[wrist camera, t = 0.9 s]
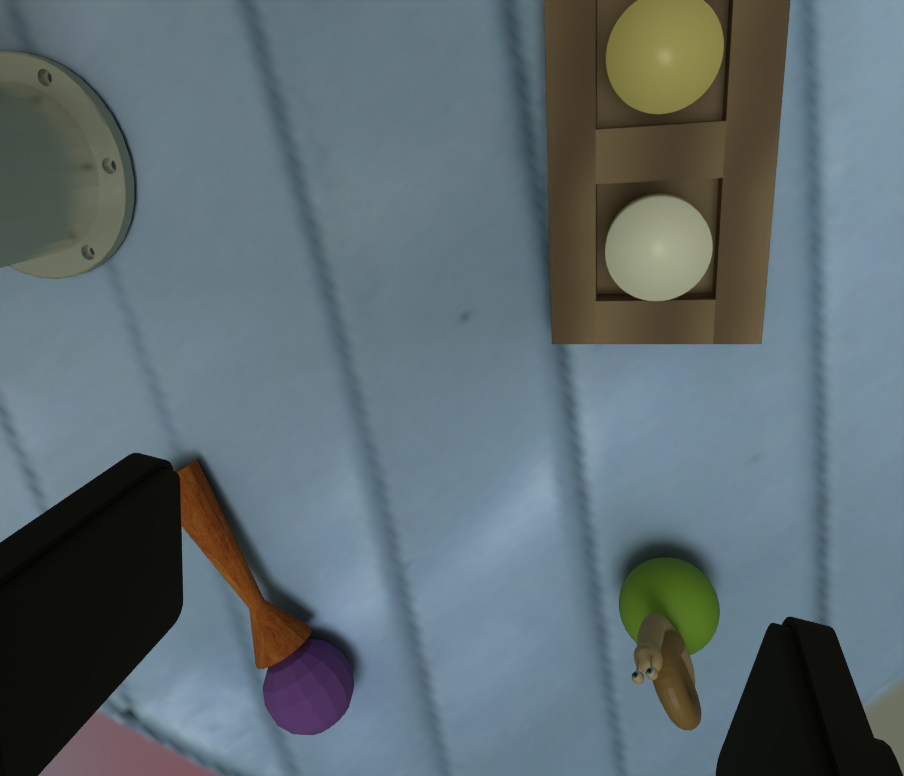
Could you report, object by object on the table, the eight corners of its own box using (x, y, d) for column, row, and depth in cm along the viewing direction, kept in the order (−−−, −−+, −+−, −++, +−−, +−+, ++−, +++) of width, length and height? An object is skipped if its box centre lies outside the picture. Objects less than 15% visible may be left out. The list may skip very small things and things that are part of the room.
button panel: (556, 330, 39) (551, 344, 37) (544, -271, 30) (537, -301, 28) (753, 329, 37) (761, 343, 35) (804, -322, 28) (820, -360, 25)
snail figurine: (682, 512, 41) (702, 658, 31) (729, 600, 43) (763, 769, 32) (596, 543, 43) (585, 690, 32) (643, 625, 45) (648, 793, 34)
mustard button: (606, 117, 32) (605, 117, 31) (607, 1, 31) (606, -4, 29) (715, 109, 31) (720, 110, 30) (722, -11, 30) (727, -18, 28)
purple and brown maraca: (189, 467, 43) (358, 734, 46) (229, 439, 49) (377, 678, 52) (111, 510, 45) (281, 768, 47) (159, 478, 50) (307, 709, 53)
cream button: (605, 292, 35) (604, 301, 33) (606, 195, 33) (605, 199, 32) (705, 291, 34) (709, 300, 32) (711, 190, 32) (715, 195, 31)
